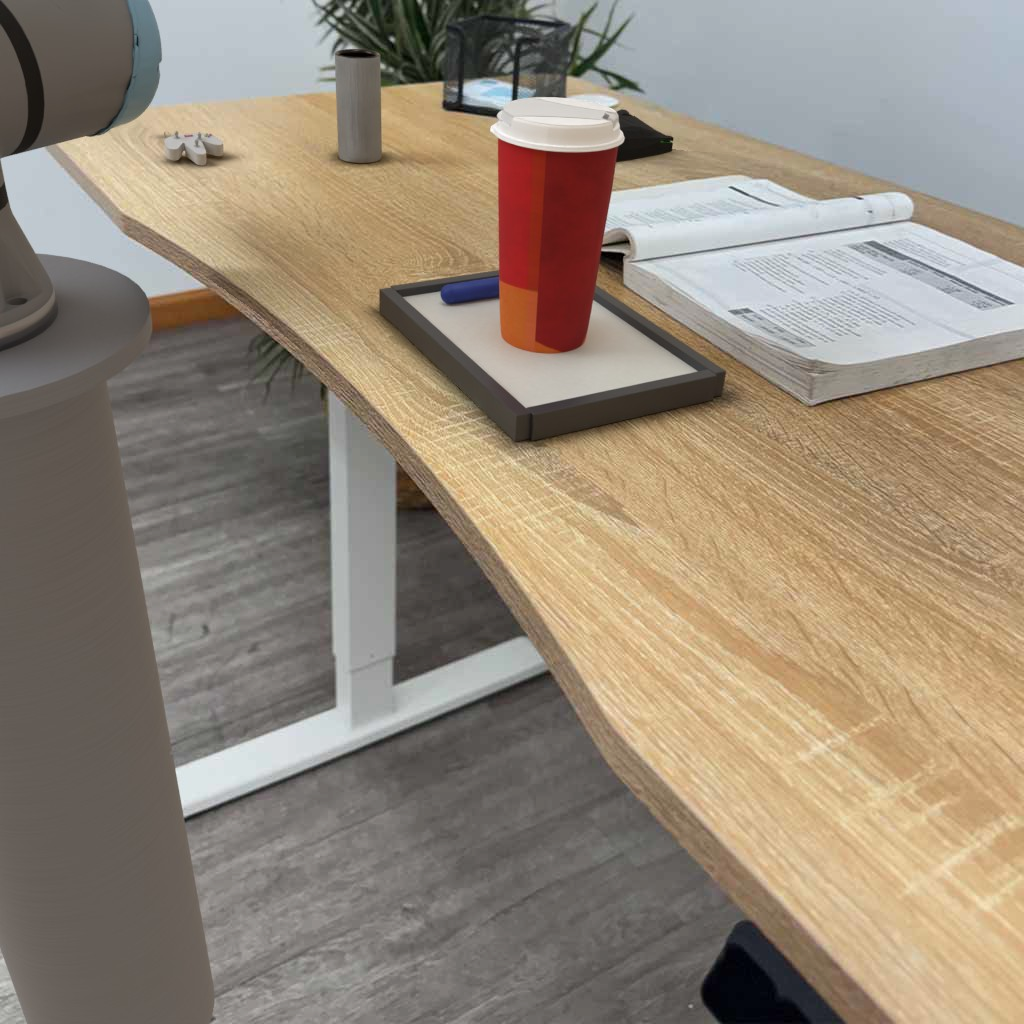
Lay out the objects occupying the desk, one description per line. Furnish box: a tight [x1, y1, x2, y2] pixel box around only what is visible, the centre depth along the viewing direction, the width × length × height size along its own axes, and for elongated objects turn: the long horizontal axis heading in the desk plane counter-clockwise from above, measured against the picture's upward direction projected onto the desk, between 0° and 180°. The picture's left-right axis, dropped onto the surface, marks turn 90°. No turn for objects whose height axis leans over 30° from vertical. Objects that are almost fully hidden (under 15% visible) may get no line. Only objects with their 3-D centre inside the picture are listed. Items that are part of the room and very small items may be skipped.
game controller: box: [163, 130, 224, 166], centre depth 109 cm, size 6×12×3 cm, turn 51°
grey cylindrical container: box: [334, 48, 383, 164], centre depth 109 cm, size 4×4×10 cm
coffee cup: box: [489, 96, 625, 353], centre depth 69 cm, size 8×8×15 cm
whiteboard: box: [378, 269, 727, 443], centre depth 73 cm, size 22×16×3 cm
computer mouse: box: [616, 108, 675, 162], centre depth 119 cm, size 11×16×4 cm
